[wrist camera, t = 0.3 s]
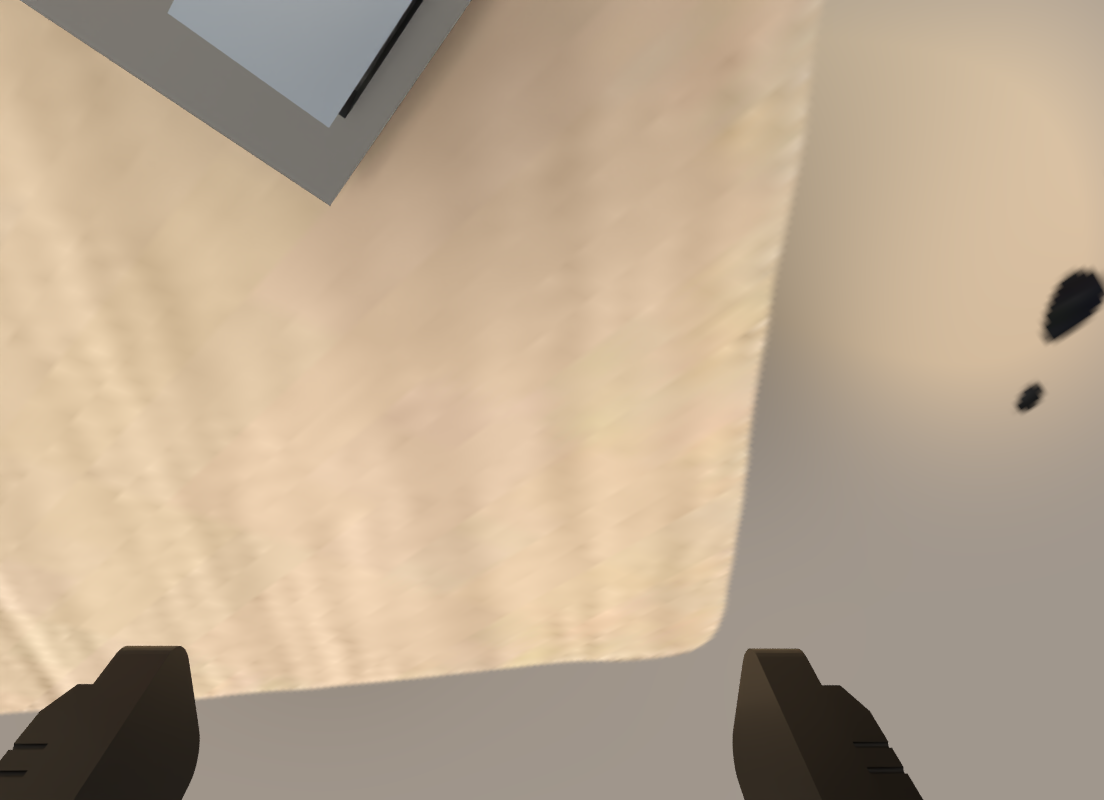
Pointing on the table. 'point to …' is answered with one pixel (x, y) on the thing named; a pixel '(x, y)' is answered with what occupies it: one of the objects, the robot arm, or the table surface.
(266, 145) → the console
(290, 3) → the key blue
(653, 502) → the table surface
